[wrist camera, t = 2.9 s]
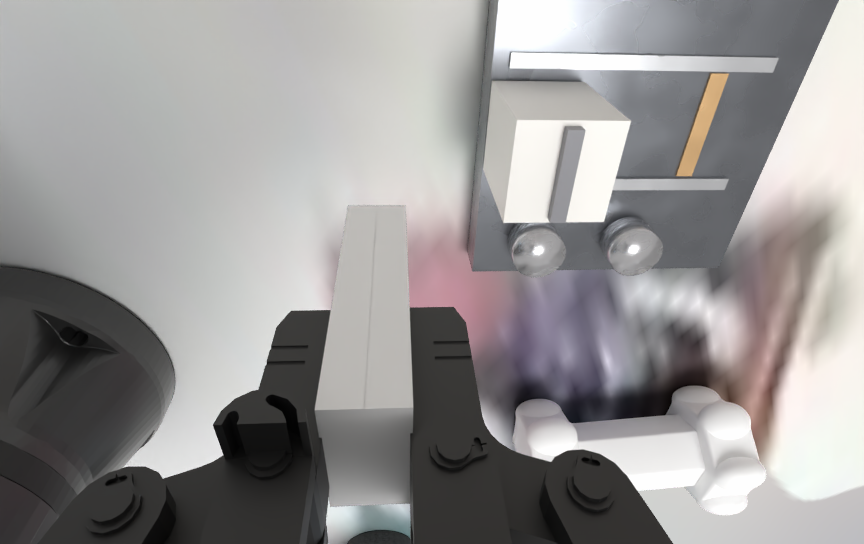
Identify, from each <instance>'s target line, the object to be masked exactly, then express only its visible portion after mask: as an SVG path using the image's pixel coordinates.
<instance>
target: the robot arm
mask: <svg viewBox="0 0 864 544" xmlns="http://www.w3.org/2000/svg"><path fill="white" fill-rule="evenodd" d="M174 389H175V376H174V370H173V367H172V364H171V361H170V359H169V356H168V354H167V353H166V351H165V349H164V348H163V346H162V345H161V343H160V342H159V340H158V339H157V338H156V337H155V335H154V334H153V333H152V332H151V331H150V330H149V329H148V328H147V327H146V326H145V325H144V324H143V323H142V322H141V321H139V320H138V319H137V318H136V317H135V316H133V315H132V314H131V313H130V312H128V311H127V310H125V309H124V308H122V307H121V306H120V305H118V304H116V303H115V302H113V301H111V300H110V299H108V298H106V297H104V296H103V295H101V294H99V293H97V292H95V291H93V290H90V289H88V288H86V287H84V286H81V285H79V284H76V283H74V282H71V281H68V280H65V279H62V278H59V277H56V276H52V275H49V274H45V273H40V272H36V271H31V270H25V269H19V268H11V267H0V544H328V537H327V526H326V514H327V506H328V497H329V502H330V507H337V506H361V505H385V504H410V515H411V532H410V544H673V543H672V541H671V540H670V538H669V537H668V535H667V534H666V532H665V531H664V530H663V528H662V526H661V525H660V524H659V522H658V521H657V519H656V518H655V516H654V515H653V513H652V512H651V510H650V509H649V507H648V506H647V505H646V503H645V501H644V500H643V498H642V497H641V496H640V494H639V493H638V491H637V490H636V488H635V487H634V485H633V484H632V482H631V481H630V479H629V478H628V476H627V475H626V474H625V473H624V472H623V471H622V470H621V469H620V468H619V467H618V466H617V464H616V463H614V462H613V461H611V460H609V459H608V458H606V457H604V456H603V455H601V454H599V453H595V452H591V451H588V450H584V449H580V450H567V451H565V452H563V453H561V454H559V455H558V456H556V457H554V459H553V460H552V462H550V461H546V460H542V459H538V458H535V457H531V456H527V455H524V454H521V453H518V452H515V451H513V450H510V449H509V448H507V447H506V446H504V445H502V444H501V443H499V442H498V441H497V440H496V439H495V438H494V437H493V436H492V435H491V434H490V432H489V430H488V429H487V427H486V426H485V423H484V420H483V417H482V413H481V407H480V401H479V395H478V390H477V384H476V378H475V373H474V367H473V361H472V355H471V350H470V344H469V338H468V333H467V327H466V322H465V321H464V320H463V318H462V317H461V316H460V315H459V313H458V312H457V311H456V309H455V308H454V307H424V308H410V306H409V279H408V252H407V226H406V205H348V208H347V214H346V220H345V226H344V232H343V239H342V245H341V251H340V257H339V263H338V269H337V275H336V282H335V288H334V294H333V300H332V306H331V310H316V311H291V312H290V313H289V314H288V315H287V316H286V317H285V318H284V319H283V321H282V322H281V323H280V324H279V325H278V326H277V328H276V331H275V335H274V338H273V342H272V345H271V350H270V352H269V355H268V359H267V365H266V366H265V369H264V373H263V376H262V380H261V383H260V387H259V390H256V391H251V392H249V393H247V394H245V395H242V396H240V397H238V398H236V399H234V400H233V401H232V402H231V403H230V404H229V405H227V406H226V407H225V408H224V409H223V410H222V411H221V412H220V414H219V416H218V417H217V419H216V421H215V422H214V424H213V426H214V429H215V432H216V435H217V438H218V440H219V443H220V446H221V449H222V452H223V456H222V457H220V458H219V459H217V460H215V461H214V462H211V463H209V464H207V465H204V466H202V467H199V468H196V469H193V470H190V471H186V472H183V473H180V474H177V475H174V476H171V477H168V478H164V479H162V477H161V476H160V474H159V473H158V472H156V471H154V470H152V469H149V468H147V467H125V468H123V467H124V465H125V464H126V463H127V462H128V461H129V460H130V459H131V457H132V456H133V455H134V454H135V453H136V452H137V451H138V450H139V449H140V448H141V447H143V446H144V445H145V444H146V443H147V442H148V441H149V440H150V439H151V438H152V437H153V435H154V434H155V432H156V431H157V429H158V428H159V426H160V424H161V422H162V420H163V418H164V416H165V413H166V411H167V409H168V407H169V405H170V402H171V400H172V397H173V394H174Z"/></svg>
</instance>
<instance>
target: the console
mask: <svg viewBox="0 0 864 544" xmlns="http://www.w3.org/2000/svg"><path fill="white" fill-rule="evenodd" d="M838 1H839V0H490V2H489V13H488V24H487V36H486V47H485V58H484V70H483V81H482V92H481V104H480V115H479V126H478V138H477V149H476V160H475V172H474V183H473V194H472V206H471V217H470V228H469V240H468V255H469V260H470V264H471V268H472V271H519V272H520V273H521V274H523V275H525V276H528V277H543V276H546V275H549V274H551V273H553V272H554V271H555V270H590V269H614V270H615V271H616V272H618V273H619V274H622V275H626V276H634V275H639V274H642V273H644V272H646V271H648V270H649V269H653V268H716V267H719V265H720V263H721V261H722V259H723V256H724V254H725V252H726V250H727V247H728V245H729V243H730V241H731V239H732V236H733V234H734V232H735V230H736V227H737V225H738V223H739V221H740V219H741V216H742V214H743V212H744V210H745V207H746V205H747V203H748V201H749V199H750V196H751V194H752V192H753V190H754V187H755V185H756V183H757V181H758V179H759V176H760V174H761V172H762V170H763V167H764V165H765V163H766V161H767V159H768V156H769V154H770V152H771V150H772V147H773V145H774V143H775V141H776V139H777V136H778V134H779V132H780V130H781V127H782V125H783V123H784V121H785V119H786V116H787V114H788V112H789V110H790V107H791V105H792V103H793V101H794V99H795V96H796V94H797V92H798V90H799V87H800V85H801V83H802V81H803V79H804V76H805V74H806V72H807V70H808V67H809V65H810V63H811V61H812V59H813V56H814V54H815V52H816V50H817V47H818V45H819V43H820V41H821V39H822V36H823V34H824V32H825V30H826V27H827V25H828V23H829V21H830V19H831V16H832V14H833V12H834V10H835V7H836V5H837V3H838ZM492 81H559V82H585V83H586V84H588V85H589V86H590V87H591V88H592V89H594V90H595V91H596V92H597V93H598V94H600V95H601V96H602V97H603V98H604V99H605V100H607V101H608V102H609V103H610V104H611V105H613V106H614V107H615V108H616V109H617V110H619V111H620V112H621V113H622V114H623V115H625V116H626V117H627V118H628V119H629V120H631V123H630V127H629V131H628V134H627V138H626V142H625V145H624V149H623V153H622V157H621V160H620V164H619V168H618V171H617V175H616V179H615V183H614V186H613V190H612V194H611V198H610V201H609V205H608V209H607V212H606V216H605V220H604V222H566V223H550V222H547V223H503V221H502V218H501V215H500V213H499V210H498V207H497V205H496V202H495V199H494V197H493V194H492V192H491V189H490V186H489V184H488V181H487V178H486V176H485V173H484V170H483V165H484V155H485V145H486V135H487V125H488V115H489V105H490V95H491V84H492Z"/></svg>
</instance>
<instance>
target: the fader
mask: <svg viewBox="0 0 864 544" xmlns="http://www.w3.org/2000/svg"><path fill="white" fill-rule="evenodd" d="M630 123H631V120H629V119H628V118H627V117H626V116H625V115H623V114H622V113H621V112H620V111H619V110H617V109H616V108H615V107H614V106H613V105H611V104H610V103H609V102H608V101H607V100H605V99H604V98H603V97H602V96H601V95H600V94H598V93H597V92H596V91H595V90H594V89H592V88H591V87H590V86H589V85H588V84H586V83H585V82H559V81H492V84H491V95H490V105H489V115H488V125H487V135H486V145H485V155H484V165H483V170H484V173H485V176H486V178H487V181H488V184H489V186H490V189H491V192H492V194H493V197H494V199H495V202H496V205H497V207H498V210H499V213H500V215H501V218H502V221H503V223H547V222H550V223H566V222H604V220H605V216H606V212H607V209H608V205H609V201H610V198H611V194H612V190H613V186H614V183H615V179H616V175H617V171H618V168H619V164H620V160H621V157H622V153H623V149H624V145H625V142H626V138H627V134H628V131H629V127H630Z"/></svg>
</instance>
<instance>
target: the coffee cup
mask: <svg viewBox="0 0 864 544" xmlns="http://www.w3.org/2000/svg"><path fill="white" fill-rule="evenodd" d="M347 544H410V538H409V537H407V536H406V535H404V534H401V533H398V532H394V531H384V530H381V531H371V532H366V533H363V534H360V535H358V536H356V537H354V538H352V539H351V540H350V541H349V542H348V543H347Z"/></svg>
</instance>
